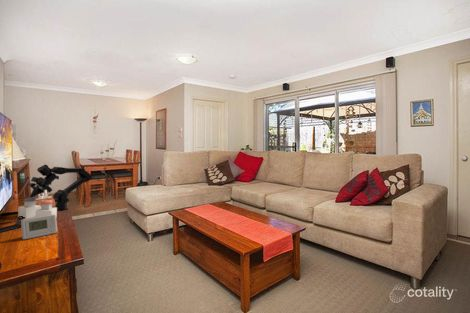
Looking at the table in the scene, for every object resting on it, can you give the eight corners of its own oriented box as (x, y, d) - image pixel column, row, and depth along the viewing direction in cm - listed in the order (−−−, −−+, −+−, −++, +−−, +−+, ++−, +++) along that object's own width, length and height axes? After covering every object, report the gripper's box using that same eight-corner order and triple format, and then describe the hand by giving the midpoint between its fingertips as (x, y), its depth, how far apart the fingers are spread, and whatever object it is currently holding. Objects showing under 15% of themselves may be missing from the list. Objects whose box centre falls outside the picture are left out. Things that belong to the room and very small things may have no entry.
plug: (32, 208, 178) (32, 197, 178) (37, 209, 175) (38, 198, 175) (21, 210, 172) (22, 198, 172) (27, 211, 169) (27, 199, 169)
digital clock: (20, 241, 130) (21, 221, 129) (20, 236, 136) (20, 217, 136) (58, 234, 141) (58, 216, 140) (56, 230, 147) (56, 213, 147)
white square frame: (41, 217, 171) (41, 207, 171) (56, 217, 174) (56, 207, 174) (35, 221, 163) (35, 210, 162) (51, 220, 165) (51, 210, 165)
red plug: (43, 211, 170) (43, 200, 170) (53, 211, 172) (54, 200, 172) (38, 214, 164) (39, 202, 164) (49, 213, 166) (50, 202, 166)
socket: (32, 213, 180) (33, 204, 179) (40, 215, 176) (40, 205, 176) (18, 216, 171) (18, 206, 171) (26, 218, 168) (26, 208, 168)
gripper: (31, 172, 182) (13, 188, 172) (48, 173, 175) (29, 191, 165) (43, 181, 189) (26, 198, 179) (59, 183, 182) (42, 201, 172)
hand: (30, 196), depth 174 cm, fingers closed
